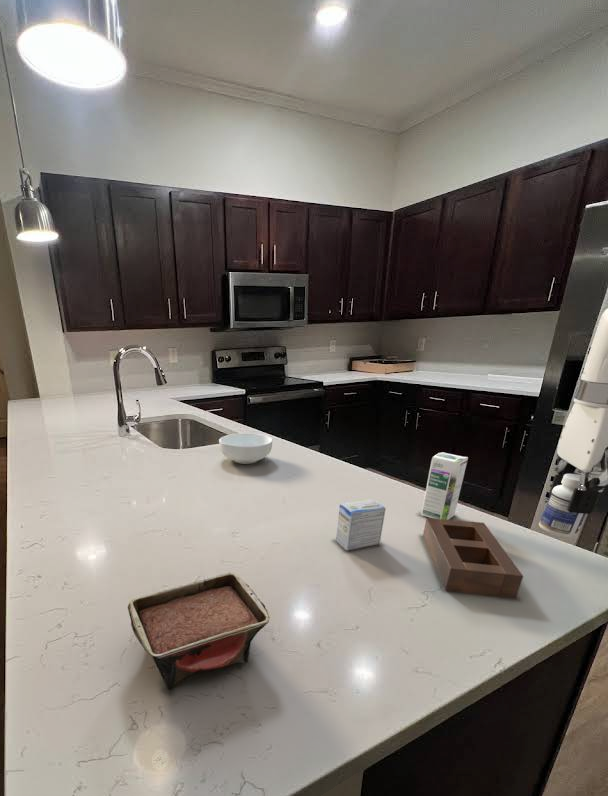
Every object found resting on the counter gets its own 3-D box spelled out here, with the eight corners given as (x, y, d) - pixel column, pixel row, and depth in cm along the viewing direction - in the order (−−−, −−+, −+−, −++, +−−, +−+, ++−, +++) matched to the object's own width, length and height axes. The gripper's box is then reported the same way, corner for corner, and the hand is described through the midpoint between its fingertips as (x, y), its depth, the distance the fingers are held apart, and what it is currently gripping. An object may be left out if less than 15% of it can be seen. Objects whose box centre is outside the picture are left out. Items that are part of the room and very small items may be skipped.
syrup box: (419, 515, 98) (431, 456, 92) (430, 508, 101) (442, 450, 95) (444, 523, 94) (458, 462, 88) (455, 515, 97) (469, 456, 92)
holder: (478, 542, 86) (483, 522, 84) (515, 598, 69) (523, 576, 67) (422, 536, 88) (426, 517, 87) (445, 590, 71) (450, 568, 70)
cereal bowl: (278, 455, 139) (279, 435, 137) (261, 471, 126) (262, 449, 123) (231, 450, 146) (231, 430, 143) (210, 464, 132) (210, 443, 129)
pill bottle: (556, 522, 74) (577, 471, 70) (584, 537, 70) (609, 483, 66) (530, 523, 74) (550, 472, 70) (557, 538, 69) (581, 484, 65)
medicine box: (367, 535, 89) (372, 498, 86) (380, 545, 85) (386, 506, 82) (334, 541, 87) (338, 503, 84) (346, 551, 83) (351, 512, 80)
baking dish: (269, 681, 57) (280, 617, 54) (137, 705, 50) (141, 633, 47) (231, 621, 69) (238, 566, 67) (121, 634, 63) (124, 574, 60)
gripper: (681, 407, 54) (628, 530, 61) (603, 385, 69) (568, 487, 76) (614, 404, 55) (569, 525, 63) (551, 384, 71) (522, 483, 78)
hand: (569, 503), depth 69 cm, fingers closed on pill bottle, 5 cm apart
